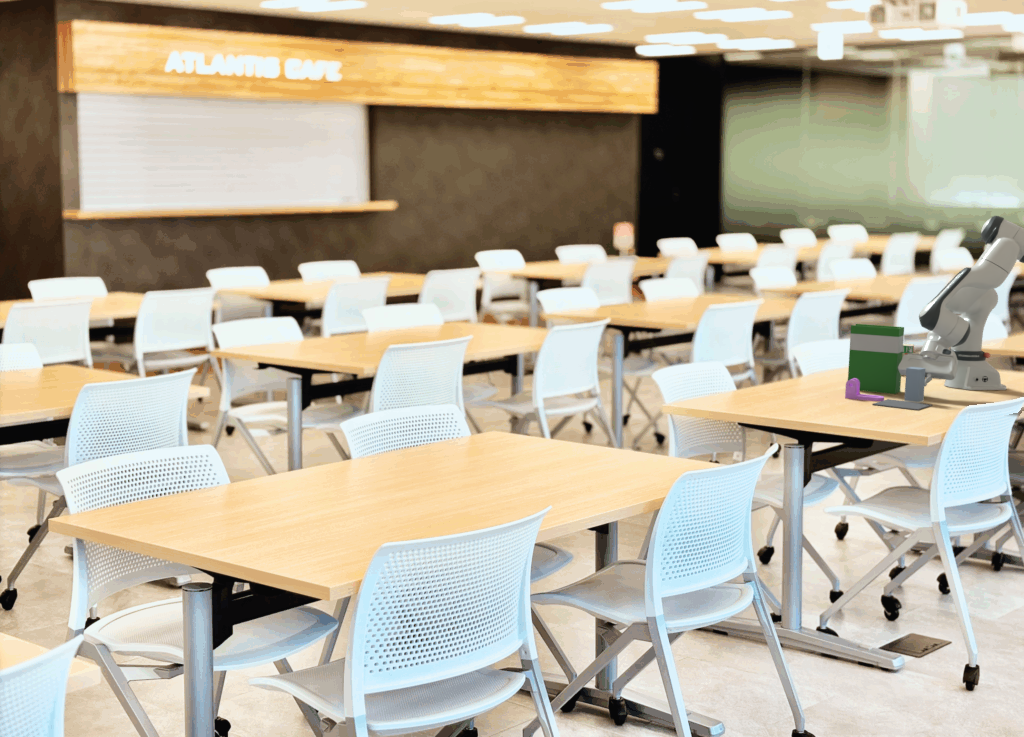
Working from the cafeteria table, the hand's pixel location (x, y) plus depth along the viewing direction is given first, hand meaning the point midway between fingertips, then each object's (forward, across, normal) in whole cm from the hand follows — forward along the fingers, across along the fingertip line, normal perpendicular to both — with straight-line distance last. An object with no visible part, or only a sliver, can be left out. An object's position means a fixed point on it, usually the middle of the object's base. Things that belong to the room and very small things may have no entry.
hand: (921, 384), depth 469 cm
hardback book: (-3, -21, +11) cm, 24 cm away
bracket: (+13, -16, -4) cm, 20 cm away
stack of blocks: (-41, -29, +48) cm, 69 cm away
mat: (+15, 0, -8) cm, 17 cm away
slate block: (+8, 0, 0) cm, 8 cm away
